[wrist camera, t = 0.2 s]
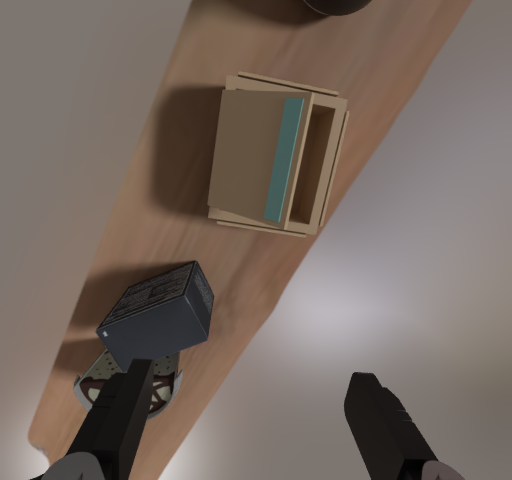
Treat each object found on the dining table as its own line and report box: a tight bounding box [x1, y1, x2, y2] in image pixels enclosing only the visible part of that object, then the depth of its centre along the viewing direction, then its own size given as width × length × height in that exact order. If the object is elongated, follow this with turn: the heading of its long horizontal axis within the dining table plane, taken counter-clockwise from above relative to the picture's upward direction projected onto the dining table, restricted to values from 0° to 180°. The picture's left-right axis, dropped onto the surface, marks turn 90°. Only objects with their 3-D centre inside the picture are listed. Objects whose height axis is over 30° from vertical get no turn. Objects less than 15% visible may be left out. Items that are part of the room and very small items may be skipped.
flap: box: [207, 90, 315, 230], centre depth 27 cm, size 11×1×9 cm
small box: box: [95, 261, 214, 373], centre depth 37 cm, size 11×6×10 cm, turn 112°
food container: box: [73, 348, 183, 421], centre depth 39 cm, size 12×6×10 cm, turn 91°
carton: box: [208, 71, 350, 238], centre depth 34 cm, size 15×12×7 cm
